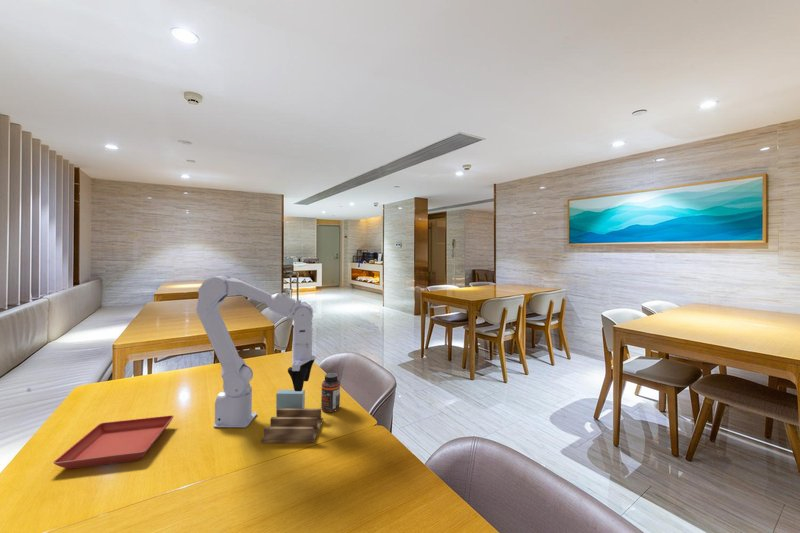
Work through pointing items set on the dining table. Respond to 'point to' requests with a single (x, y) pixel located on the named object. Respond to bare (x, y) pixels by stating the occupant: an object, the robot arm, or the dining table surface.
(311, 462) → the dining table surface
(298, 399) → the grey-green rectangular block
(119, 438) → the plant saucer
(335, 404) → the supplement bottle
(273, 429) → the rack
